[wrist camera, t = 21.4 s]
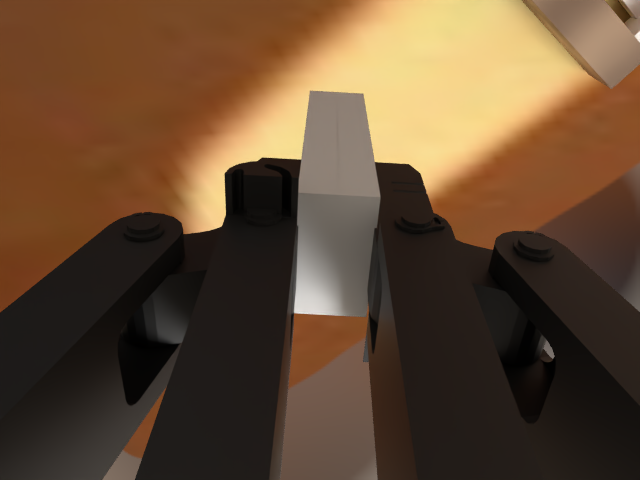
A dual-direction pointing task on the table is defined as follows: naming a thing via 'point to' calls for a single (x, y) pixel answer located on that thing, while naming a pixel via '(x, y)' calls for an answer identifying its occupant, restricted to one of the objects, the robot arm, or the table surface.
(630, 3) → the corral
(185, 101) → the table surface
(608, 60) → the brown long bar
